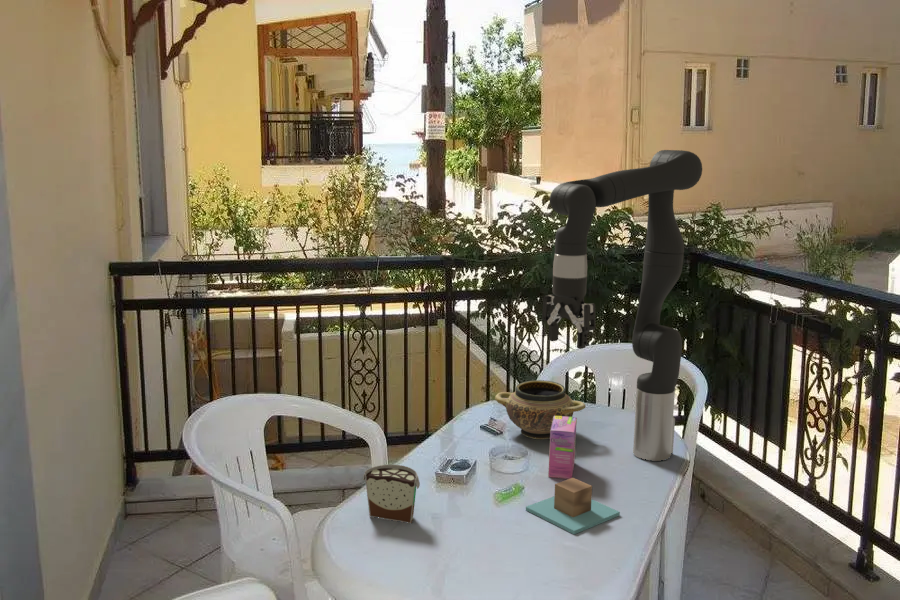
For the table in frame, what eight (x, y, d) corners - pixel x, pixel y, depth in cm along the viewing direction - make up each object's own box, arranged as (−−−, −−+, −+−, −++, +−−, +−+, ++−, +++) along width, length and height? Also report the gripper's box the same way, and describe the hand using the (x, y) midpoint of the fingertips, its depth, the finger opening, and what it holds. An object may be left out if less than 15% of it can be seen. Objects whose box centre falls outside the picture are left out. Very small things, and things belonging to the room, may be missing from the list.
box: (572, 479, 198) (574, 431, 196) (548, 477, 199) (549, 429, 197) (575, 462, 208) (577, 416, 206) (551, 460, 209) (553, 415, 207)
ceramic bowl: (486, 443, 228) (481, 395, 222) (511, 408, 242) (508, 362, 236) (574, 460, 217) (571, 410, 211) (595, 423, 231) (593, 375, 225)
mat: (571, 493, 191) (571, 489, 191) (619, 515, 180) (619, 511, 180) (525, 510, 182) (525, 506, 182) (573, 534, 171) (574, 530, 171)
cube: (571, 501, 185) (572, 477, 184) (591, 510, 181) (592, 485, 179) (554, 508, 181) (554, 484, 180) (573, 517, 177) (574, 492, 176)
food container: (428, 512, 181) (428, 468, 179) (417, 524, 175) (417, 479, 173) (375, 503, 185) (374, 460, 183) (363, 515, 179) (362, 471, 177)
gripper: (605, 276, 187) (602, 348, 190) (558, 268, 198) (556, 335, 201) (582, 280, 182) (579, 353, 185) (535, 271, 193) (533, 340, 196)
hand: (567, 344), depth 193 cm, fingers open, 8 cm apart
